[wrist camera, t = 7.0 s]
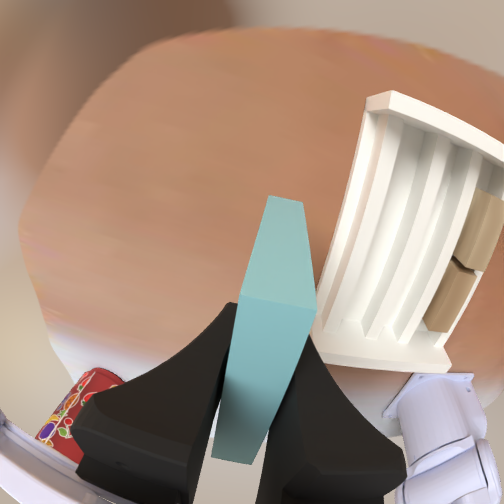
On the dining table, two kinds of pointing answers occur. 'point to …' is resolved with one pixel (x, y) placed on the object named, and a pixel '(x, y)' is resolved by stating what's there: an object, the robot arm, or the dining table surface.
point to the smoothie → (74, 413)
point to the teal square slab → (266, 331)
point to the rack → (400, 234)
